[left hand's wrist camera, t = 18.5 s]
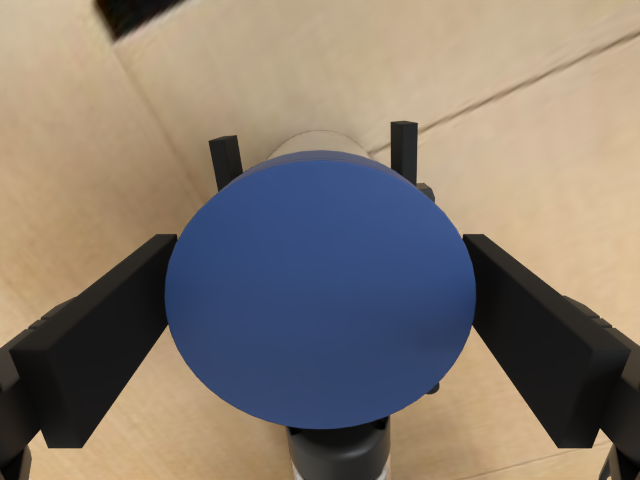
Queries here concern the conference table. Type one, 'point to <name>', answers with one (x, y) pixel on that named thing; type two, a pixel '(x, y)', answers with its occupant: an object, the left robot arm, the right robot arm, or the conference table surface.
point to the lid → (320, 291)
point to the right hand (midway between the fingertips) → (312, 130)
